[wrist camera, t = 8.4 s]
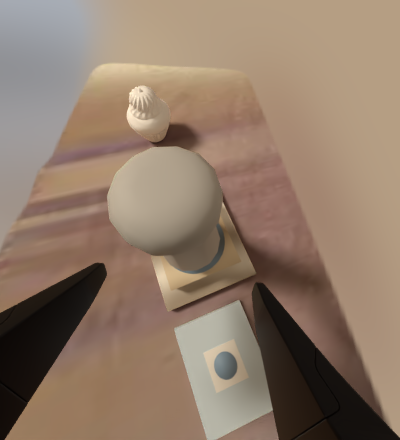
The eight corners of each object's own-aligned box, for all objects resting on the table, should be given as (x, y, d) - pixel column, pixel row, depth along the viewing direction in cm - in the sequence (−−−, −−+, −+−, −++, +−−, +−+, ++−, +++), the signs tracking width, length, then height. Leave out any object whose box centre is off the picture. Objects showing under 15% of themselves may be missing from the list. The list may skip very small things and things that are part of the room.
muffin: (132, 127, 26) (108, 79, 20) (166, 115, 27) (154, 64, 20) (144, 155, 25) (122, 114, 18) (180, 142, 25) (172, 97, 19)
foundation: (254, 273, 19) (263, 274, 17) (169, 309, 19) (162, 317, 16) (215, 191, 23) (217, 179, 20) (141, 218, 22) (132, 210, 19)
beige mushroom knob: (225, 230, 18) (275, 146, 5) (205, 279, 16) (210, 319, 4) (178, 210, 19) (128, 99, 6) (155, 256, 17) (31, 230, 5)
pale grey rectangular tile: (281, 401, 16) (284, 405, 16) (208, 439, 15) (208, 444, 15) (238, 299, 19) (239, 300, 18) (174, 327, 18) (174, 329, 18)
